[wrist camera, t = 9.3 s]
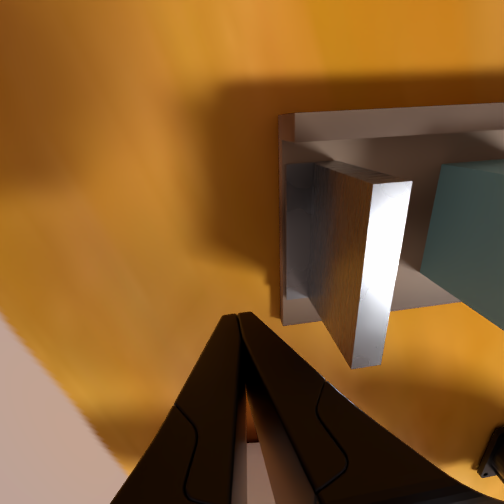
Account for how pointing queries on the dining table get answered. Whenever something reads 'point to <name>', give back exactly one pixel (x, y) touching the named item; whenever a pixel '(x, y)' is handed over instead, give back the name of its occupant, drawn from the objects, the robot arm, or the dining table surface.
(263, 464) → the photo printer
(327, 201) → the bookend
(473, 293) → the teal block
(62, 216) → the dining table surface
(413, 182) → the shelf board
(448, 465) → the dining table surface
